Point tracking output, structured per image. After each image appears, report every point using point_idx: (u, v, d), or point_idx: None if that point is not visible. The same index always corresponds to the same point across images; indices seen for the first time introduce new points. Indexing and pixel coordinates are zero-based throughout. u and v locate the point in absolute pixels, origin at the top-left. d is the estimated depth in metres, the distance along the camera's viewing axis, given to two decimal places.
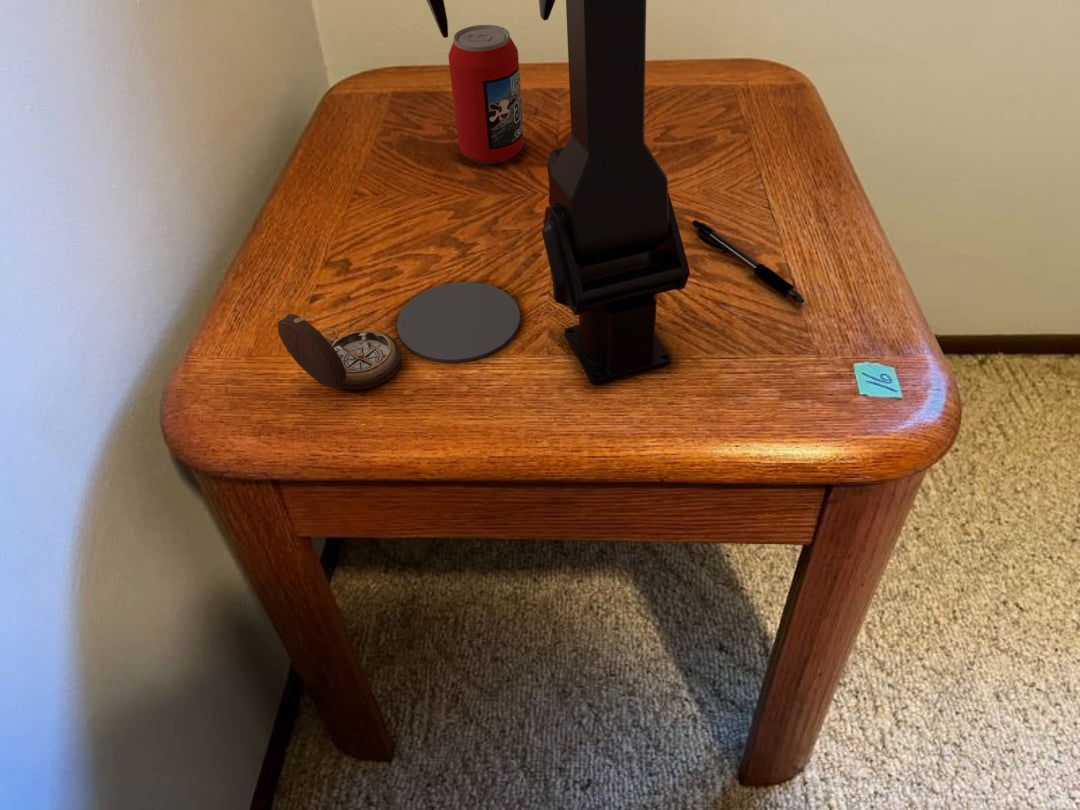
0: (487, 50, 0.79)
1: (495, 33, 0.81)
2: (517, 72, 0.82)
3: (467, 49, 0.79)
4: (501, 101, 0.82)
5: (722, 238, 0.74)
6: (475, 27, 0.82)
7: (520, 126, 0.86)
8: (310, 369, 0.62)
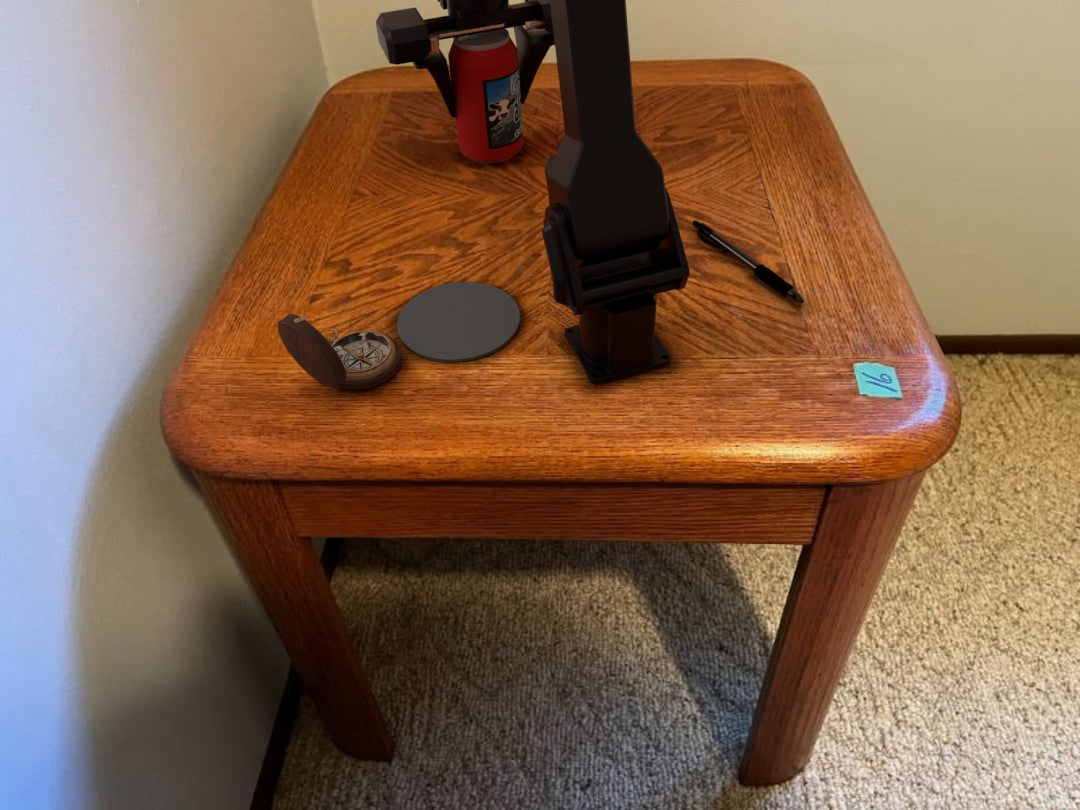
0: (487, 49, 0.79)
1: (495, 33, 0.82)
2: (517, 72, 0.82)
3: (467, 48, 0.79)
4: (501, 100, 0.82)
5: (722, 238, 0.74)
6: None
7: (520, 126, 0.86)
8: (310, 369, 0.62)
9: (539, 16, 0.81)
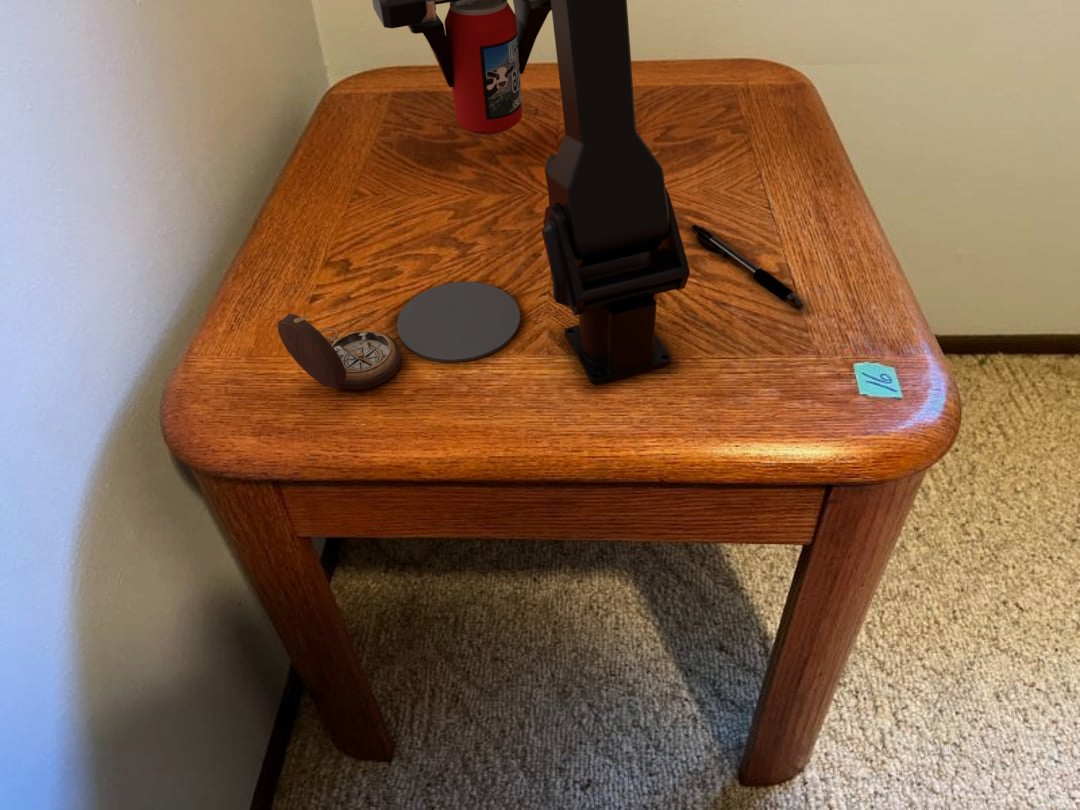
0: (484, 14, 0.77)
1: None
2: (515, 39, 0.80)
3: (463, 13, 0.77)
4: (499, 68, 0.80)
5: (721, 242, 0.74)
6: None
7: (518, 96, 0.84)
8: (310, 369, 0.62)
9: None
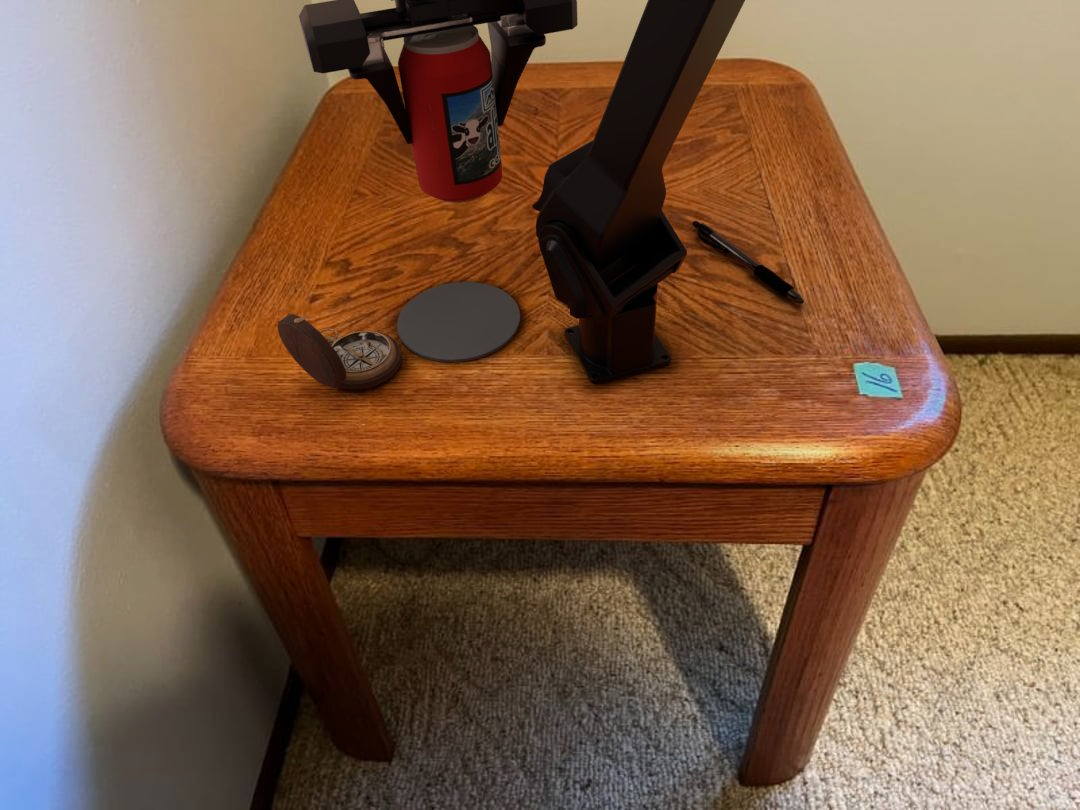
0: (447, 52, 0.59)
1: (460, 31, 0.61)
2: (490, 83, 0.62)
3: (420, 51, 0.59)
4: (469, 121, 0.62)
5: (722, 239, 0.74)
6: None
7: (496, 154, 0.65)
8: (310, 369, 0.62)
9: (520, 8, 0.60)
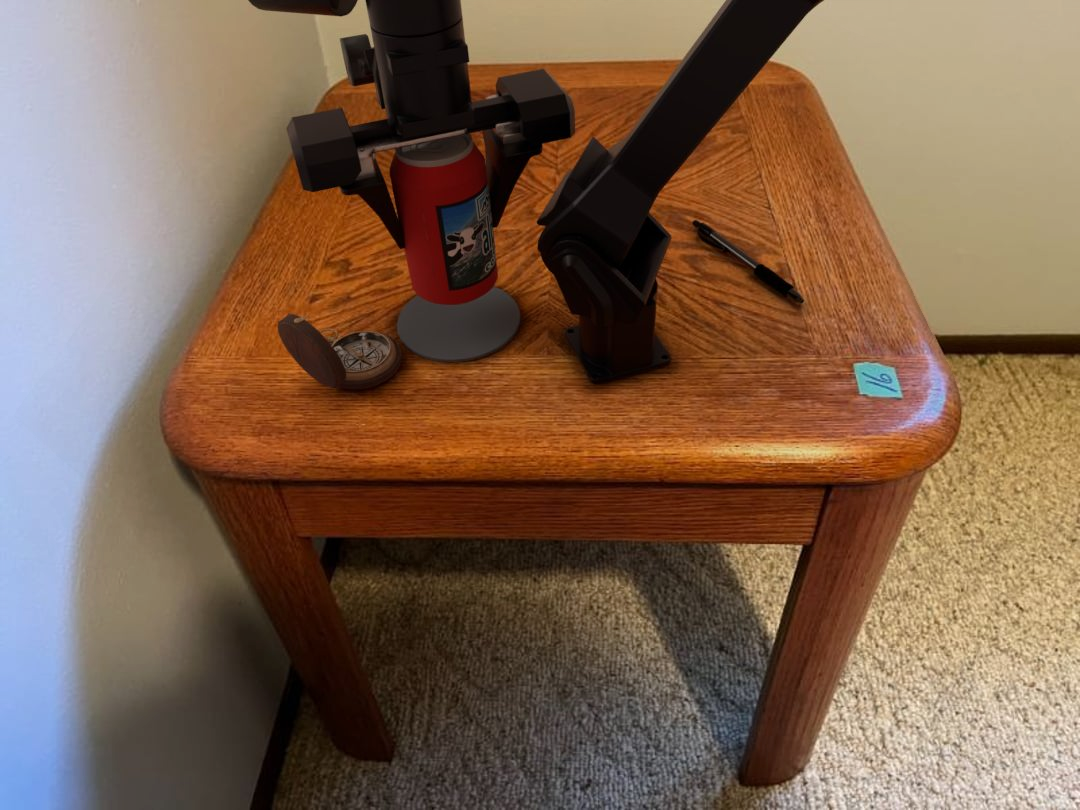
0: (441, 165, 0.57)
1: (453, 138, 0.59)
2: (485, 190, 0.60)
3: (412, 164, 0.57)
4: (464, 230, 0.60)
5: (722, 238, 0.74)
6: None
7: (492, 257, 0.63)
8: (310, 369, 0.62)
9: (515, 115, 0.58)
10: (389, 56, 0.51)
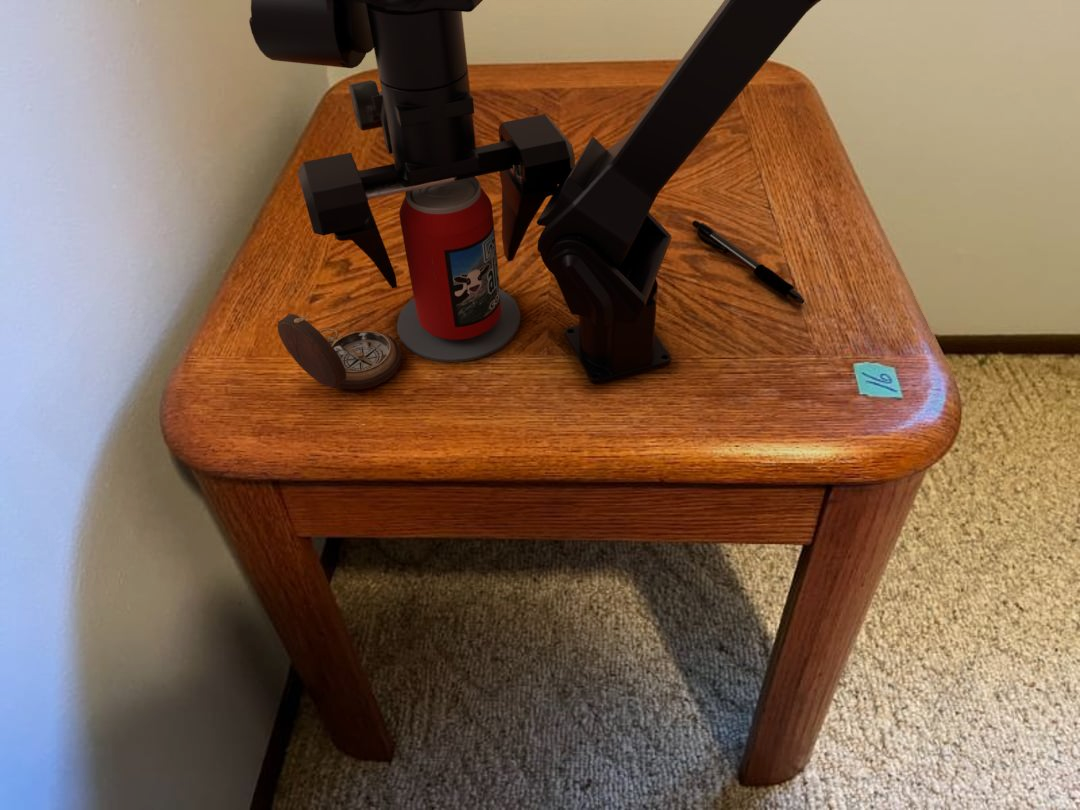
0: (450, 212, 0.59)
1: (461, 183, 0.61)
2: (491, 233, 0.62)
3: (423, 210, 0.59)
4: (470, 272, 0.62)
5: (722, 238, 0.74)
6: None
7: (496, 295, 0.66)
8: (310, 369, 0.62)
9: (518, 160, 0.61)
10: (398, 108, 0.53)
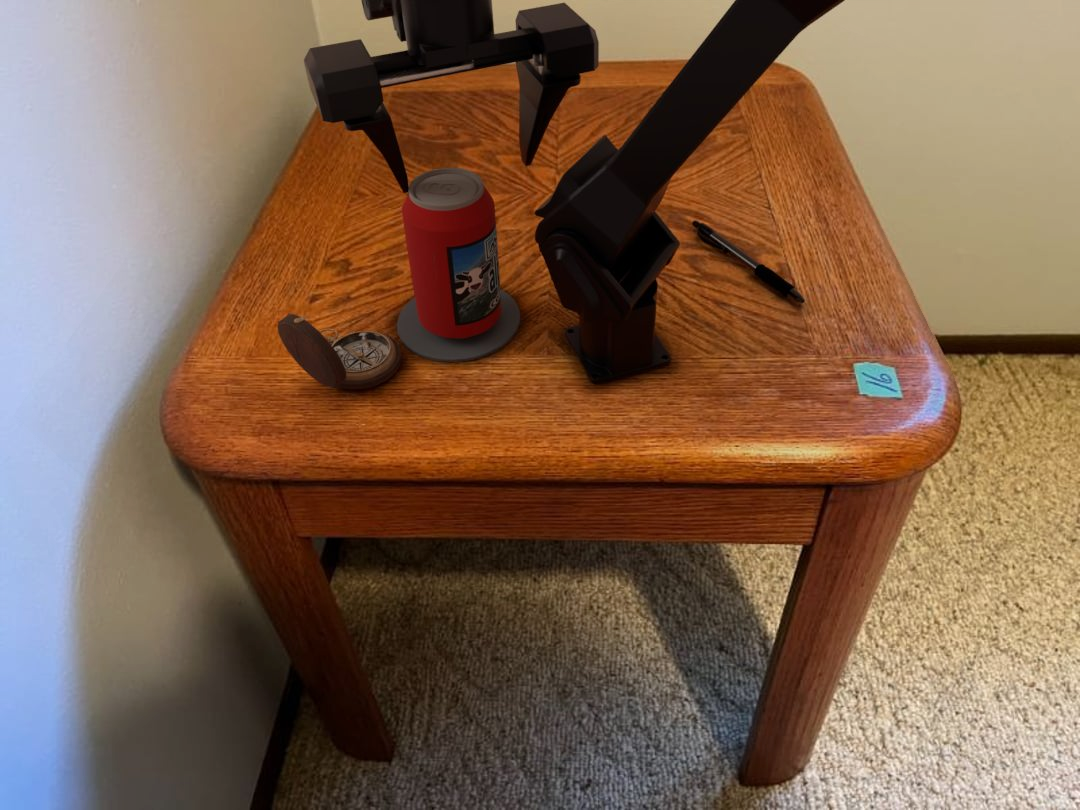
0: (453, 209, 0.59)
1: (464, 181, 0.61)
2: (493, 232, 0.62)
3: (426, 207, 0.59)
4: (472, 269, 0.62)
5: (722, 238, 0.74)
6: (438, 171, 0.62)
7: (497, 294, 0.66)
8: (310, 369, 0.62)
9: (537, 49, 0.57)
10: None
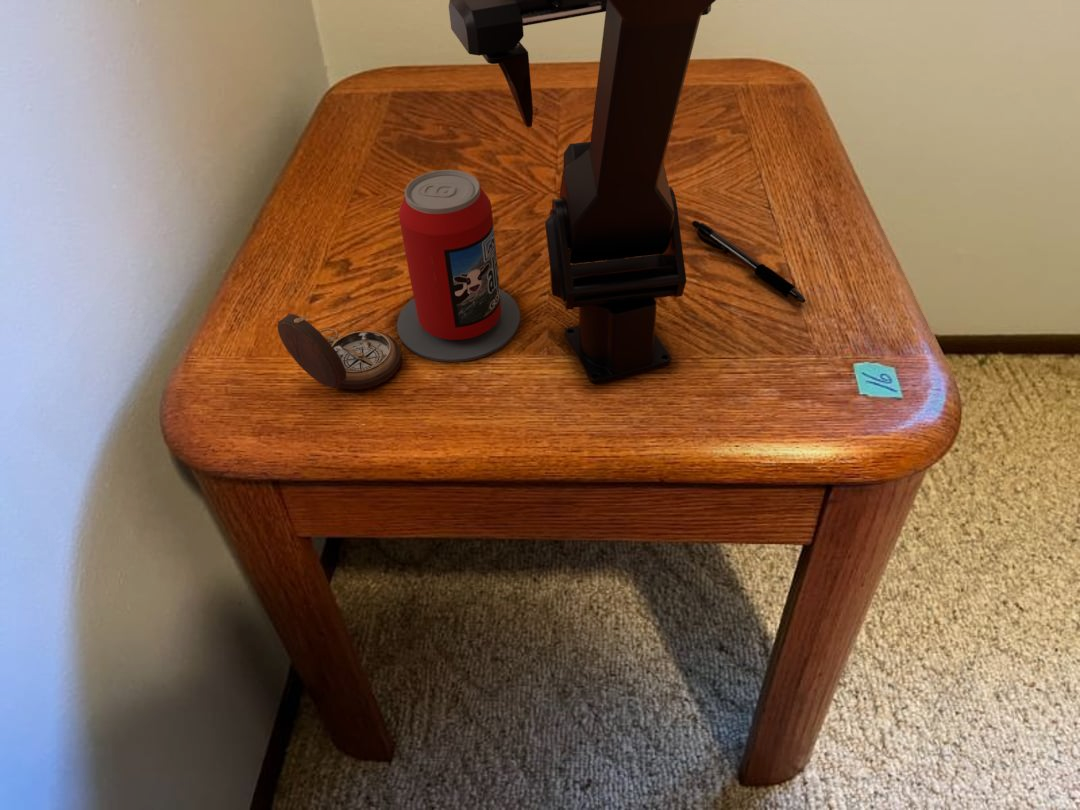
0: (449, 212, 0.59)
1: (461, 183, 0.61)
2: (491, 233, 0.62)
3: (422, 210, 0.59)
4: (470, 271, 0.62)
5: (722, 238, 0.74)
6: (434, 173, 0.62)
7: (496, 294, 0.66)
8: (310, 369, 0.62)
9: None
10: None
